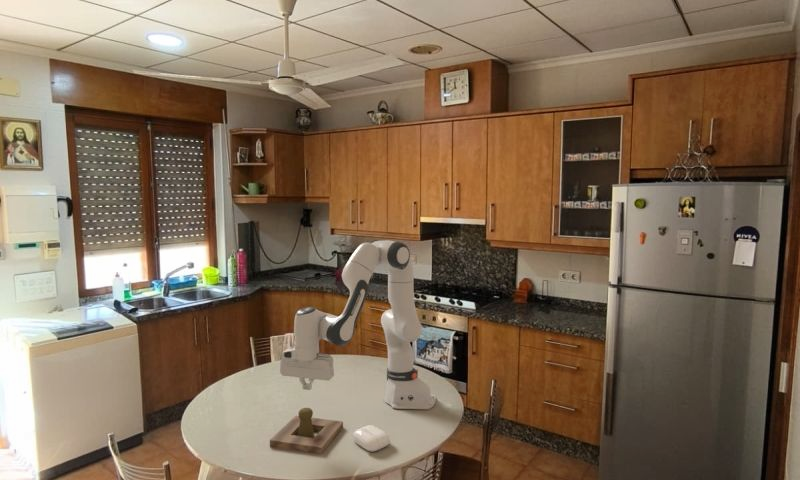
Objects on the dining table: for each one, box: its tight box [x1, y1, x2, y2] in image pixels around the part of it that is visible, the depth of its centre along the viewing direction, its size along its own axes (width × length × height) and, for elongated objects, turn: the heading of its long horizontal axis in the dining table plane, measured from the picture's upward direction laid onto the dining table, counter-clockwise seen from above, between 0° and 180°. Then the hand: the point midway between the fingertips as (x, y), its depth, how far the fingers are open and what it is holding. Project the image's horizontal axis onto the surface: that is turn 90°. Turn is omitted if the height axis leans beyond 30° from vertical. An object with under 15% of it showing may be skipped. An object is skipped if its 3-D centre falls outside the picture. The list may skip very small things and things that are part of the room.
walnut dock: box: [269, 415, 344, 455], centre depth 176 cm, size 20×20×3 cm
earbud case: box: [352, 424, 391, 452], centre depth 172 cm, size 10×13×5 cm
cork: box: [297, 407, 315, 438], centre depth 176 cm, size 6×6×11 cm
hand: (307, 389), depth 175 cm, fingers closed
